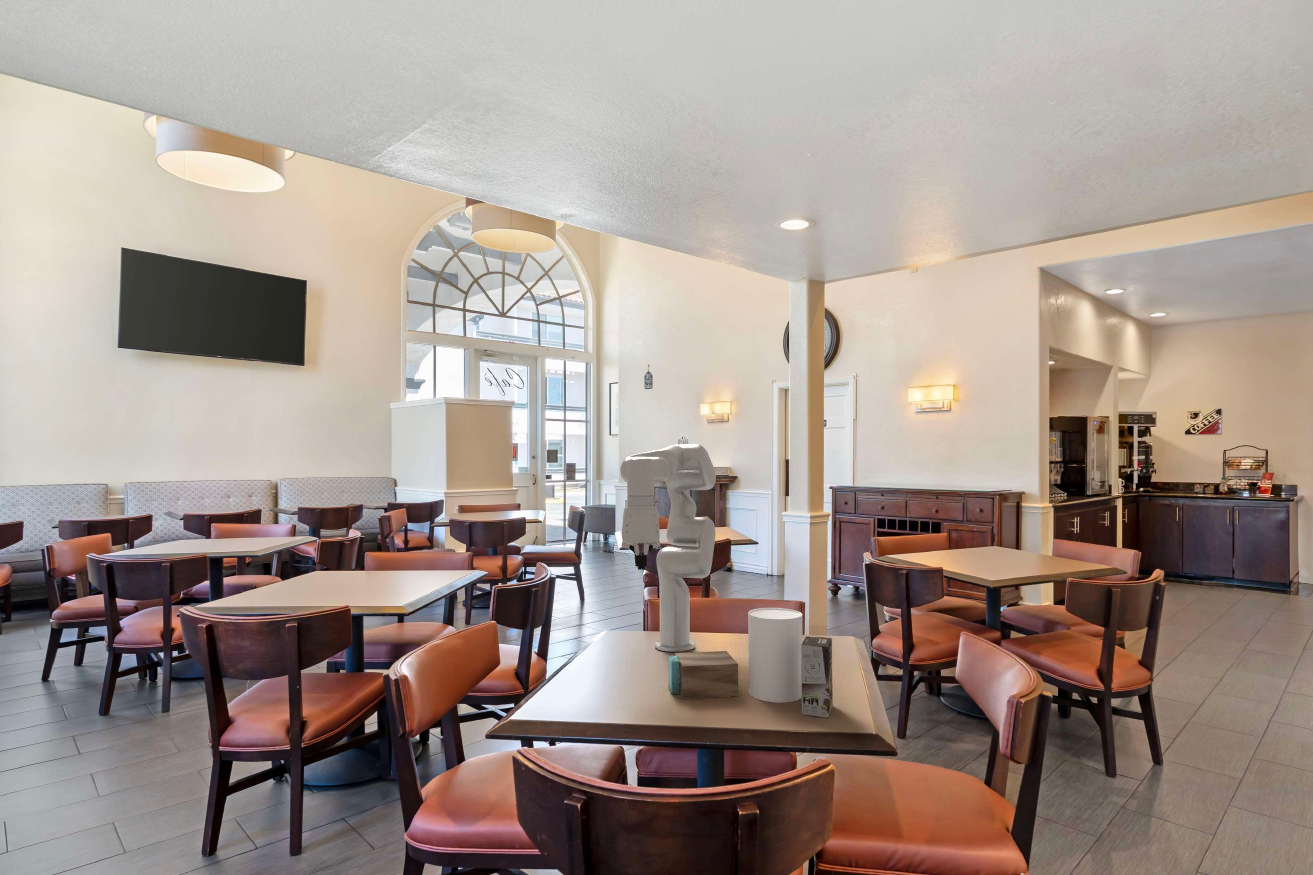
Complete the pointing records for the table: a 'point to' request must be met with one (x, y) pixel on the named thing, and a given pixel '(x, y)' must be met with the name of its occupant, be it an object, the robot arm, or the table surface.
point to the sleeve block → (707, 674)
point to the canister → (775, 654)
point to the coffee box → (816, 676)
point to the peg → (673, 674)
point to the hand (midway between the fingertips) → (641, 568)
